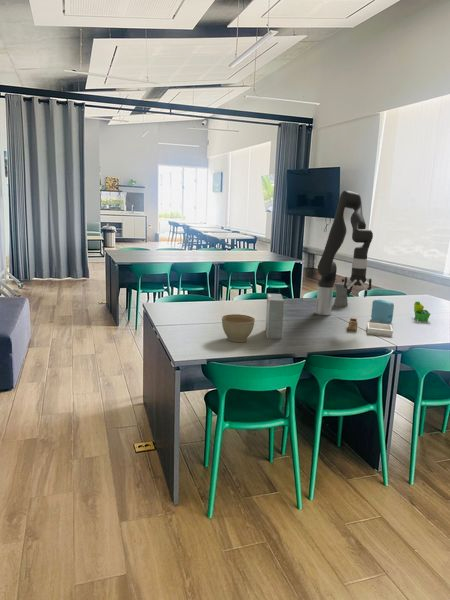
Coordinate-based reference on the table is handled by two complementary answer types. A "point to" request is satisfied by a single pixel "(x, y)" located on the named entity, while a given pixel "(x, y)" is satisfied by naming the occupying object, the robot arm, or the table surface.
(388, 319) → the blue rounded block
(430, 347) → the table surface
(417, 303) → the fruit basket
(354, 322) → the small crate
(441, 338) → the table surface
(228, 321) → the planter bowl
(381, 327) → the large crate
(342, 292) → the coffeepot
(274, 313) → the hard drive box
